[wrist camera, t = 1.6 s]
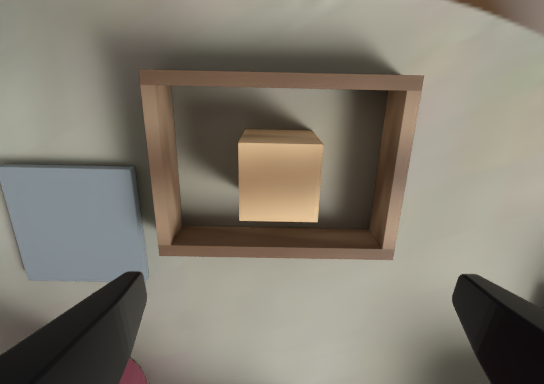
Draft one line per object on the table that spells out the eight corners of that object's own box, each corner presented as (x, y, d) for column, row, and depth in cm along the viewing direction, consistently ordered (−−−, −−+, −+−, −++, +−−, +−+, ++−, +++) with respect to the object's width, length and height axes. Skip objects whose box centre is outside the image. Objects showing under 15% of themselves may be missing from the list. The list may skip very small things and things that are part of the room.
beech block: (308, 192, 23) (317, 222, 18) (245, 191, 23) (239, 220, 18) (312, 130, 21) (323, 144, 17) (245, 128, 21) (238, 142, 17)
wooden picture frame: (378, 238, 24) (392, 259, 21) (172, 235, 24) (159, 255, 21) (402, 76, 20) (424, 75, 17) (157, 70, 20) (138, 69, 17)
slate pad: (149, 276, 25) (145, 282, 24) (35, 274, 25) (28, 280, 24) (134, 166, 22) (129, 169, 21) (5, 164, 22) (-4, 166, 21)
